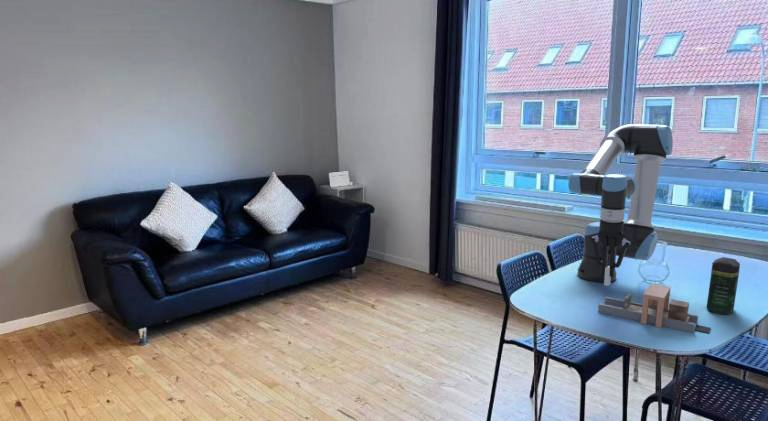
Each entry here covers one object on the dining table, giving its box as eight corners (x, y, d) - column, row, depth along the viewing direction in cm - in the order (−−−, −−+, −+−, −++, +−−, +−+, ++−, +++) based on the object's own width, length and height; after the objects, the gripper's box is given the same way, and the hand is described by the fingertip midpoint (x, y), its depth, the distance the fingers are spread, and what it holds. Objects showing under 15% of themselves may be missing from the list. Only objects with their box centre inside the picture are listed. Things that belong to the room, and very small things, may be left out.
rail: (598, 311, 181) (598, 304, 180) (605, 303, 188) (605, 296, 187) (693, 332, 164) (694, 324, 163) (697, 323, 171) (698, 315, 170)
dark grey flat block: (694, 330, 166) (694, 329, 165) (696, 325, 169) (696, 324, 169) (709, 333, 163) (709, 332, 163) (710, 328, 167) (710, 327, 167)
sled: (623, 312, 177) (624, 295, 176) (627, 307, 182) (628, 290, 181) (686, 326, 166) (688, 308, 165) (688, 320, 171) (691, 302, 170)
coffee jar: (730, 317, 175) (737, 264, 172) (704, 311, 181) (710, 260, 177) (735, 308, 182) (742, 258, 179) (710, 303, 188) (716, 254, 184)
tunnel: (640, 323, 171) (643, 294, 169) (648, 311, 181) (651, 283, 179) (660, 327, 168) (664, 297, 166) (667, 315, 178) (670, 287, 175)
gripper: (589, 219, 178) (585, 284, 184) (629, 224, 171) (624, 291, 176) (595, 215, 184) (591, 277, 189) (634, 219, 176) (629, 284, 182)
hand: (607, 284), depth 183 cm, fingers closed
